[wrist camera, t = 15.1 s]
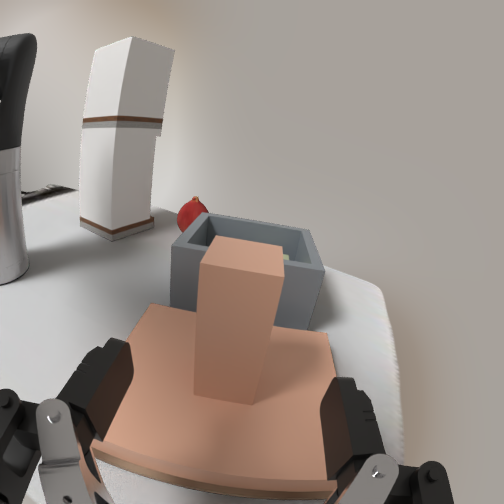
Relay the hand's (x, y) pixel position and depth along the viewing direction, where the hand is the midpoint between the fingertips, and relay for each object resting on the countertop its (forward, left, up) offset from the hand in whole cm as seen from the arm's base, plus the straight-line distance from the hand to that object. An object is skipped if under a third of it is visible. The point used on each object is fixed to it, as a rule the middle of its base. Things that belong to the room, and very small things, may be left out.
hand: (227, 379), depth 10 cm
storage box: (0, +24, -10) cm, 26 cm away
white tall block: (-27, +40, -11) cm, 49 cm away
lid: (0, +7, -10) cm, 12 cm away
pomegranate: (-11, +40, -11) cm, 42 cm away
